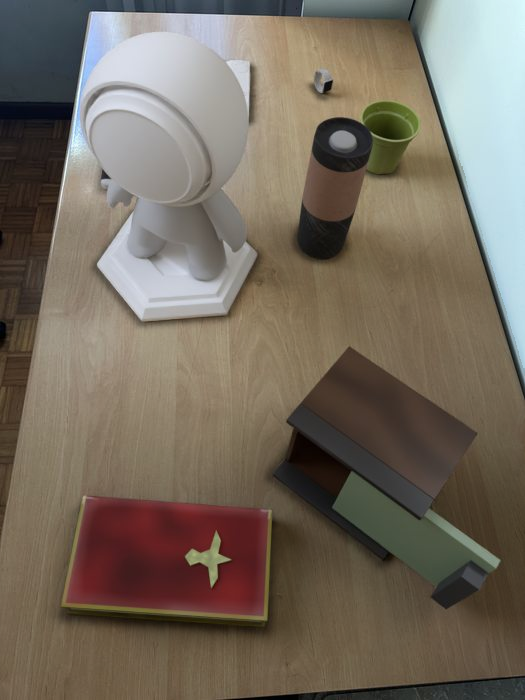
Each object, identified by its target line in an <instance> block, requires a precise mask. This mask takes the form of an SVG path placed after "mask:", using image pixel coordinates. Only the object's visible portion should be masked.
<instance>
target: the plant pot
mask: <svg viewBox="0 0 525 700" xmlns="http://www.w3.org/2000/svg"><path fill="white" fill-rule="evenodd" d="M359 118H360V119H359V120H360V123H362V124H363V125H365V126H366V127H367V128H368V129H369V131H370V132H371V134H372V137H373V146H372V150H371V154H370V157H369V161H368V165H367V169H366V171H368V172H370V173H372V174H375V175H381V174H387V175H388V174H391V173H393V172H394V171H395V170H396V169H397V167H398V165H399V163H400V162H401V159H402V157H403V155H404V153H405V152H406V150H407V148H408V146H409V144H410V143H411V142H412V141H413V140H414V139H415V138H416V137H417V136H418V135H419V133H420V131H421V128H422V122H421V121H422V120H421V118H420V115H418V113H417V112H416V111H415V110H414V109H413V108H412V107H410V106H408V105H407V104H405V103H402V102H400V101H395V100H391V99H389V100H388V99H381V100H376V101H372V102H370V103H369V104H367V105H365V107H363V109H362V110H361V112H360V117H359Z"/></svg>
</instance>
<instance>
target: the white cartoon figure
mask: <svg viewBox="0 0 525 700" xmlns="http://www.w3.org/2000/svg"><path fill="white" fill-rule="evenodd" d="M226 62H227V61H225V60H224V59H223V58H222V56H221V55H220V54H219V53H218V52H216V51H215V50H214V49H212V48H211V47H209V46H208V45H206V43H204V42H202V41H200V40H198V39H196V38H194V37H191V36H188V35H186V34H181V33H178V32H177V33H176V32H170V31H152V32H144V33H140V34H136V35H134V36H131V37H129V38H127V39H125V40H123V41H121V42H119V43H118V44H116V45H115V46H114V47H112V48H111V49H109V50H108V51H107V52H106V53H105V54H104V55H103V56H102V57H101V58H100V59H99V61H97V63H96V64H95V66H94V67H93V68H92V70H91V72H90V74H89V75H88V78H87V80H86V82H85V85H84V87H83V90H82V93H81V98H80V103H79V123H80V129H81V133H82V136H83V139H84V141H85V143H86V145H87V147H88V149H89V151H90V153H91V154H92V155H93V157H94V158H95V160H96V161H97V163H98V165H99V166H100V167H101V170H102V169H103V170H104V171H105V172H106V174H107V175H108V176H109V177H110V178H111V179H112V180H111V182H110V184H109V186H108V189H106V201H107V204H108V207H109V208H111V209H112V210H113V209H115V208H116V207H117V206H118V204H119V203H123V206H124V207H130V205H131V203H132V198H133V197H134V196H135V197H136V201H135V204H134V208H133V211H132V212H131V214H130V215H129V217H128V218H127V219H126V221H125V222H124V224H123V225H122V227H121V228H120V230H119V231H118V233H117V234H116V235H115V237H114V238H113V240H112V241H111V243H110V244H109V246H108V247H107V248H106V250H105V251H104V253H103V254H102V256H101V257H100V259H98V261H97V264H96V266H97V269H99V271H100V272H101V273H102V274H103V276H104V277H105V278H106V280H108V282H110V284H111V285H112V287H113V288H114V289H115V290H116V291H117V292H118V294H119V295H120V296H121V298H122V299H123V300H124V301H125V302H126V304H127V305H128V306H129V307H130V308H131V310H132V311H133V312H134V314H136V316H137V318H139V320H140V321H141V322H157V321H168V320H180V319H181V320H183V319H195V318H208V317H219V316H227V315H228V312H229V311H230V310H231V308H232V305H233V303H234V301H235V300H236V297H237V296H238V294H239V292H240V290H241V288H242V287H243V284H244V282H245V280H246V278H247V276H248V274H249V273H250V271H251V269H252V267H253V265H254V263H255V261H256V259H257V257H258V252H257V251H256V250H255V249H254V248H253V247H252V246H251V245H250V244H249V243H248V242H247V238H248V231H247V224H246V221H245V219H244V216H243V215H242V214H241V212H240V211H239V209H238V207H237V206H236V204H235V203H234V202H233V201H232V199H231V198H230V197H229V195H228V194H227V193H226V192H225V191H224V190H223V189H222V188H223V187H225V185H226V184H227V183H228V182H229V181H230V179H231V178H232V177H233V175H235V173H236V171H237V169H238V167H239V166H240V163H241V162H242V159H243V157H244V154H245V151H246V147H247V142H248V137H249V129H250V128H249V125H250V123H249V122H250V118H249V119H248V109H247V104H246V100H245V96H244V93H243V90H242V88H241V85H240V83H239V81H238V79H237V78H236V76H235V74H234V73H233V71H232V70H231V68H230V67H229V66H228V64H227V63H226Z"/></svg>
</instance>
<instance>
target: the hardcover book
mask: <svg viewBox="0 0 525 700" xmlns="http://www.w3.org/2000/svg"><path fill="white" fill-rule="evenodd" d="M272 521H273V509H271V508H259V507H258V508H257V507H247V506H246V507H245V506H234V505H233V506H232V505H231V506H229V505H217V504H206V503H204V504H203V503H191V502H190V503H189V502H177V501H166V500H165V501H164V500H152V499H138V498H125V497H112V496H111V497H110V496H97V495H87V494H86V495H82V498H81V503H80V509H79V513H78V519H77V522H76V523H77V524H76V528H75V534H74V539H73V543H72V548H71V553H70V559H69V563H68V568H67V574H66V579H65V583H64V588H63V594H62V599H61V604H60V607H61V608H65V609H67V611H66V613H67V614H70V615H84V616H98V617H110V618H111V617H113V618H129V619H140V620H141V619H144V620H154V621H155V620H157V621H172V622H186V623H201V624H217V625H229V626H230V625H231V626H245V627H258V628H259V627H260V628H265V624H266V623H265V622H268V614H269V613H268V612H269V593H270V592H269V591H270V571H271V569H270V567H271V546H272V545H271V544H272V524H273V523H272Z"/></svg>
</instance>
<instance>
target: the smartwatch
mask: <svg viewBox="0 0 525 700" xmlns="http://www.w3.org/2000/svg"><path fill="white" fill-rule="evenodd" d="M322 78H323V79H324V80H323V82H321V81H322ZM313 84H314V87H315V89H316V90H317V92H318V93H320V94H324V93H328V92H330V91H331V90H332V88H333V84H334V79H333V77H332V75H331V74H330V71H328V69H326V68H319V69H316V71H315V72H314V74H313Z"/></svg>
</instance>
